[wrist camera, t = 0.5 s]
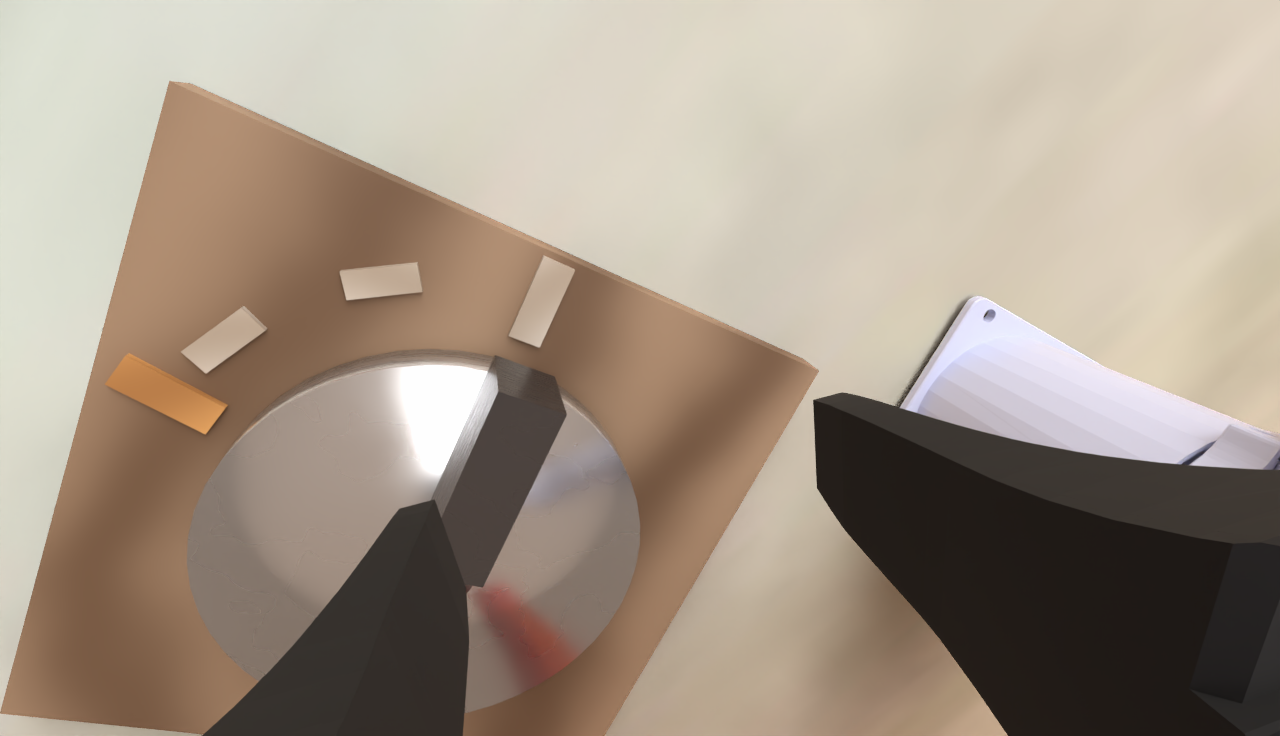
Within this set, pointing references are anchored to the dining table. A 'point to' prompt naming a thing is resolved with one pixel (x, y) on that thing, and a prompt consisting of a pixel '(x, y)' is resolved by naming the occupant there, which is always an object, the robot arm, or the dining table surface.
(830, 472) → the robot arm
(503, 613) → the dial
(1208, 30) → the dining table surface
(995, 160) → the dining table surface
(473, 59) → the dining table surface
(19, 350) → the dining table surface
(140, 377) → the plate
